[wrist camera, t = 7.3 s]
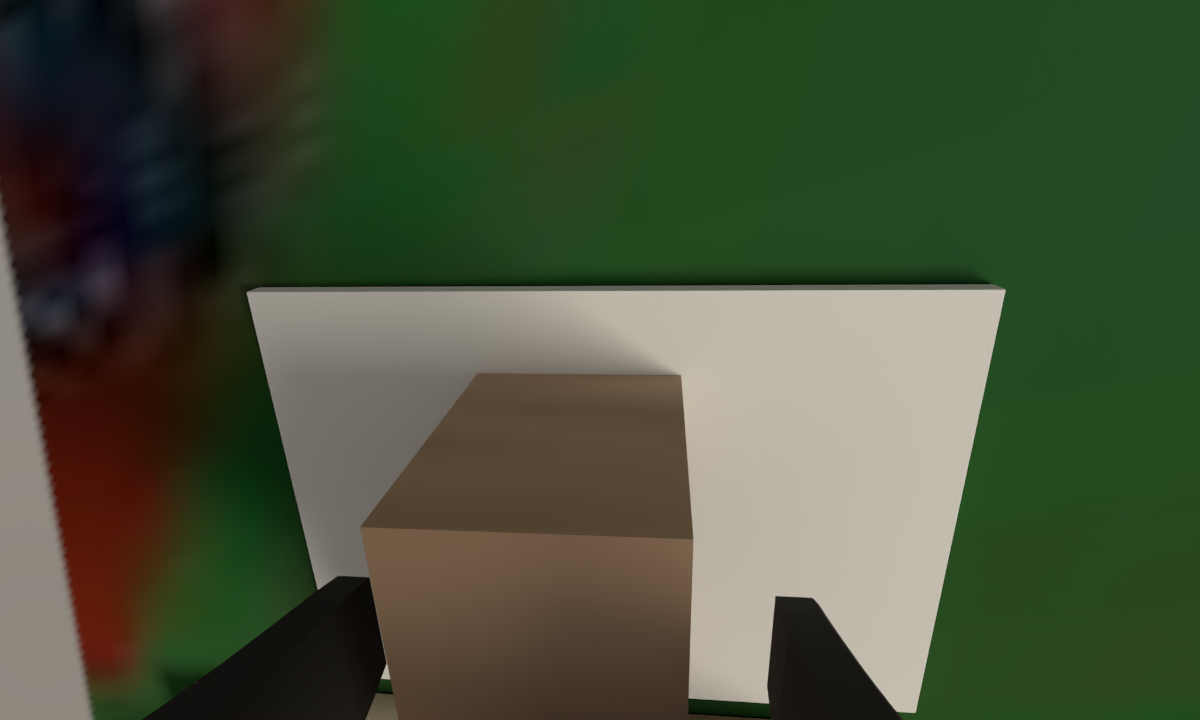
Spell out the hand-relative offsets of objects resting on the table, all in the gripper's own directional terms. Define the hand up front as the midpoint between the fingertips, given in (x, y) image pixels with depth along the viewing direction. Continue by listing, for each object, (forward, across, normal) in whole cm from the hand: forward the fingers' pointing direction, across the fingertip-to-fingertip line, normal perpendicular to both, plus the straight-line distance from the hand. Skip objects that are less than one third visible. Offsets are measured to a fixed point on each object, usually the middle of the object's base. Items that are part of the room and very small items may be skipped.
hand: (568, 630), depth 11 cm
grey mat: (+3, 0, 0) cm, 3 cm away
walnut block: (+3, 0, 0) cm, 3 cm away
